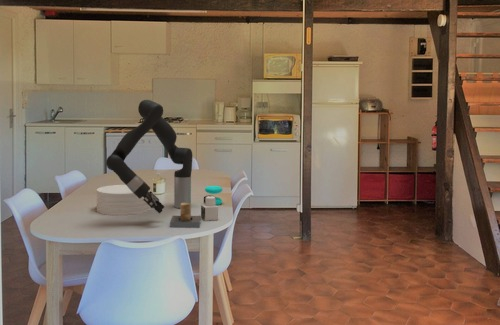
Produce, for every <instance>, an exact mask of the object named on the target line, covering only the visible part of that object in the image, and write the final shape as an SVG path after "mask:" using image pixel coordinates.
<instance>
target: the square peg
mask: <svg viewBox="0 0 500 325" xmlns="http://www.w3.org/2000/svg"><path fill="white" fill-rule="evenodd" d="M191 204H192V203H181V205H180V208H179V209H180V212H179V213H180V215H179V216H180V220H191V216H192V214H191V212H192V210H191V209H192V208H191V207H192V206H191Z"/></svg>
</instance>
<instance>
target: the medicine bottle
mask: <svg viewBox="0 0 500 325" xmlns="http://www.w3.org/2000/svg"><path fill="white" fill-rule="evenodd" d="M216 197H217V196H215V195H212V194H211V195H209V194H208V195H205V196H204V197H203V204H201V205H200V216H201V219H202V220H203V221H205V222H208V221H209V220H213V221H218V220H219V205H215V204H216ZM209 222H210V221H209Z"/></svg>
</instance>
